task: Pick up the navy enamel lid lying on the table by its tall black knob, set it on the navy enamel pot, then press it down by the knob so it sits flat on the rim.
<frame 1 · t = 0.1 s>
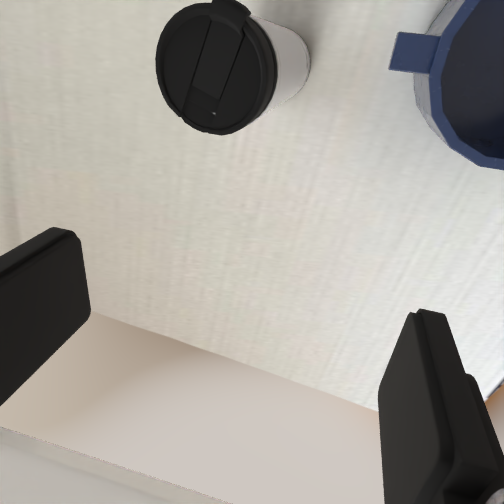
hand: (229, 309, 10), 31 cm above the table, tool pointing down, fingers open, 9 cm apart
pot: (500, 64, 31), on the table
travel mug: (279, 63, 35), on the table
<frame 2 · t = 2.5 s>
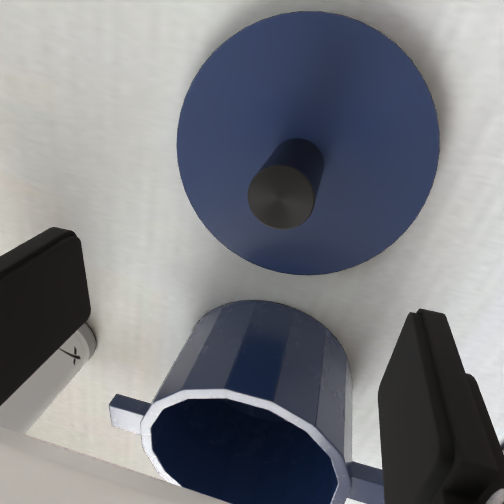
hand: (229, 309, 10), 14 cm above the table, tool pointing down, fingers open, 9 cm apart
pot: (266, 367, 30), on the table
lid: (298, 162, 21), point 1 cm above the table
travel mug: (69, 330, 35), on the table
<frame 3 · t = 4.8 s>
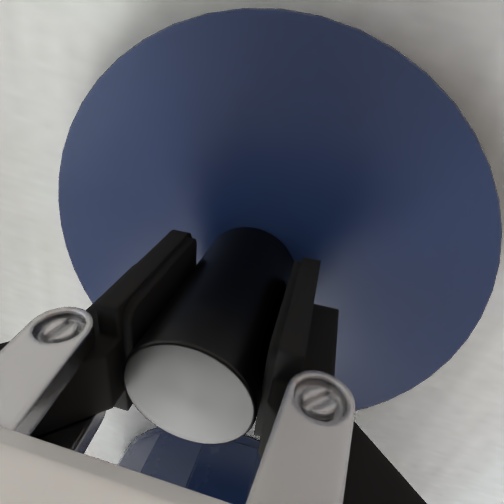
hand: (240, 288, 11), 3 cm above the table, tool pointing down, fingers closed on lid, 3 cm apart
pot: (226, 501, 22), on the table
lid: (255, 258, 13), point 1 cm above the table, touching gripper
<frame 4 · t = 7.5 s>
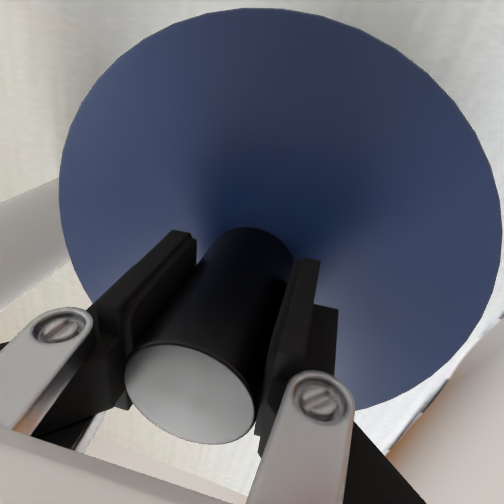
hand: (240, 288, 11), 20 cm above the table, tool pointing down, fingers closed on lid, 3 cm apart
lid: (255, 258, 13), point 18 cm above the table, touching gripper
travel mug: (95, 198, 35), on the table
when the fingers open (10 cm above the table, at t = 10.3 s): lid stays where it is, resting on pot.
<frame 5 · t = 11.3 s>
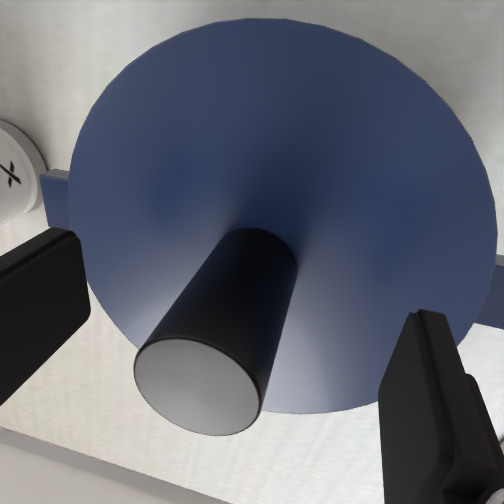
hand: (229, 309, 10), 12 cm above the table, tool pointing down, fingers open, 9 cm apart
pot: (292, 185, 20), on the table
lid: (258, 258, 13), point 8 cm above the table, touching pot
travel mug: (12, 163, 25), on the table
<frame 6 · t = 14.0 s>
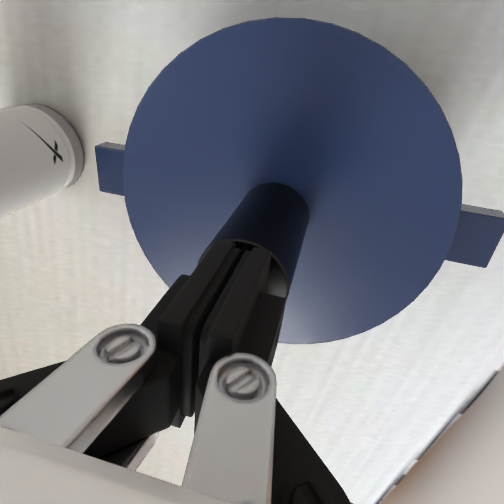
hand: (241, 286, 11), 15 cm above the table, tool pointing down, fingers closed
pot: (300, 161, 24), on the table
lid: (276, 210, 16), point 8 cm above the table, touching gripper, pot
travel mug: (50, 144, 28), on the table
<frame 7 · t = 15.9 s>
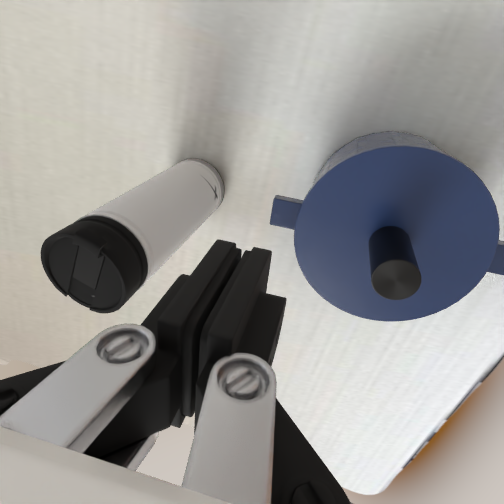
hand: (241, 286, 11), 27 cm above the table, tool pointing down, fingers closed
pot: (381, 203, 36), on the table
lid: (388, 240, 28), point 8 cm above the table, touching pot
travel mug: (198, 185, 40), on the table
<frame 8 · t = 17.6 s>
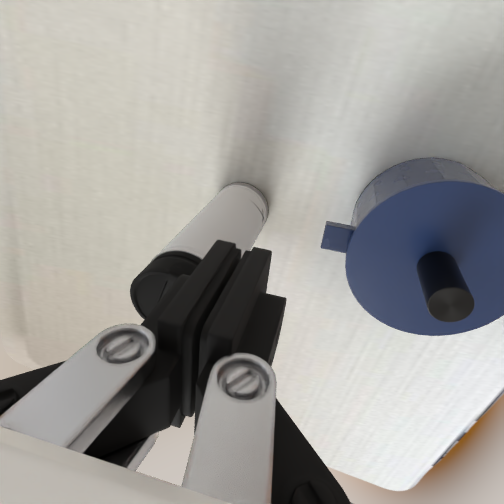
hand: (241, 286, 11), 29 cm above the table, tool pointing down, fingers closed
pot: (419, 223, 38), on the table
lid: (434, 263, 31), point 8 cm above the table, touching pot
travel mug: (243, 206, 42), on the table
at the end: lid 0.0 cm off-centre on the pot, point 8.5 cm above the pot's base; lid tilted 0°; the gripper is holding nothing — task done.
